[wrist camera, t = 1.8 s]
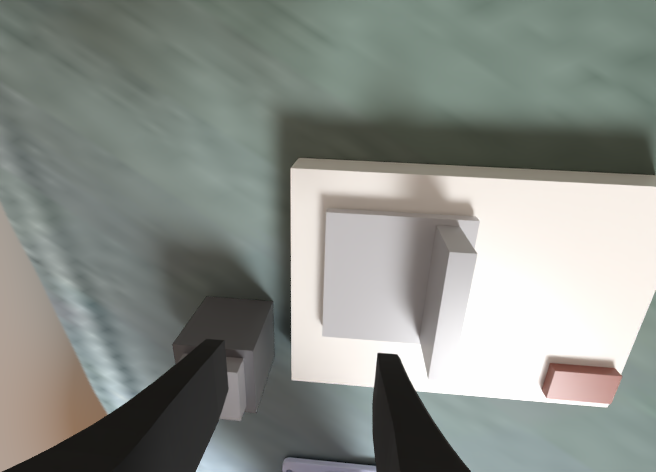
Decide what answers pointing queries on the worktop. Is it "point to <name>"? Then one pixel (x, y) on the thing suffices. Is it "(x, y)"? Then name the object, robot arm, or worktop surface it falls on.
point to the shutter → (400, 280)
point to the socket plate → (494, 275)
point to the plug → (235, 347)
